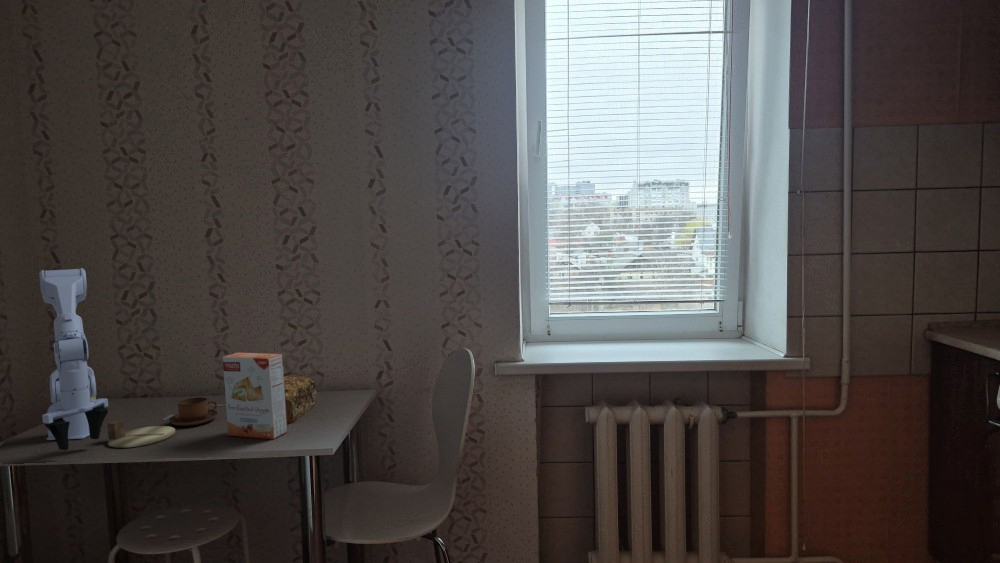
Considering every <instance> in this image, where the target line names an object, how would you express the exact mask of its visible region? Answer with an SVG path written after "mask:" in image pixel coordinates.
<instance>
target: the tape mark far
mask: <svg viewBox="0 0 1000 563" xmlns="http://www.w3.org/2000/svg"><path fill="white" fill-rule="evenodd" d="M214 406H215V404H211V407H214ZM217 407H226V404H217Z"/></svg>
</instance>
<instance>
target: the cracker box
mask: <svg viewBox="0 0 1000 563" xmlns="http://www.w3.org/2000/svg"><path fill="white" fill-rule="evenodd" d="M283 360H284V359H283V354H282V353H261V352H258V353H257V352H235V353H232V354H231V353H230V354H226V355H224V356H222V366H223V381H224V394H225V405H226V406H225V408H226V421H227V433H228V434H227V435H228V436H229V437H230V436H231V437H243V438H252V439H253V438H254V439H265V440H275V439H277V438H280V436H282V435H284V434H287V433H288V423H287V419H286V404H285V389H284V377H285V376H284V362H283Z"/></svg>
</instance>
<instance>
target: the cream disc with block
mask: <svg viewBox="0 0 1000 563" xmlns="http://www.w3.org/2000/svg"><path fill="white" fill-rule="evenodd" d="M124 424H125V423H124V420H119V419H118V420H113V421H110V422H107V424H106V425H107V436H108V440H107V445H108V446H109V447H112V448H117V449H119V448H121V449H123V448H124V449H125V448H134V447H135V448H136V447H141V446H147V445H151V444H155V443H158V442H162V441H164V440H168V439H170V438H171V437H173V436H174V435H176V428H174V427H172V426H167V425H155V426H154V425H153V426H145V427H140V428H134V429H130V430H126V431H125V425H124Z"/></svg>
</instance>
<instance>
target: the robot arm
mask: <svg viewBox="0 0 1000 563" xmlns="http://www.w3.org/2000/svg"><path fill="white" fill-rule="evenodd" d="M86 274H87V273H86V270H85V269H84V268H83V267H81V268H73V269H55V270H53V269H52V270H44V269H42V270H40V271H39V274H38V275H39V283H40V293H41V297H42V299H43V303H45V304H50V305H52V307H53V308H54V310H55V313H56V317H55V319H54V320H53V330H54V341H55V342H54V343H53V351H54V352H53V353H54V361H55V363H56V367H57V368H56V369H55V370H53V372H51V373H50V375H49V391H50V401H51V403H52V404H50V406H49V407H48V409H47V412H46V413H45V414H42V416H41V417H42V423H43V424H44V426H45V427H46V428H47V434H48V437H46V441H55V442H56V444H57V447H58V449H59V450H60V451H62V450H63V451H67V450H69V440H78V439H79V440H80V439H84V438H86V437H89V438H90V439H91V440H99V439H100V436H101V430H102V426H103V423H104V420H105V418H106V416H107V414H108V412H109V410H108V408H107V407H109V399H108V398H103V397H102V398H96V400H92V398H94V397H95V396H97V383H96V376H95V372H94V369H92V367H90V366H89V365H88V366H89V367H88V366H87V364H88V360H89V345H88V344H89V343H88V340H87V337H86V334H85V333H84V325H83V319H82V317H81V316H79V315H78V314H77V313H76V312H77V307H78V304H79V303H81V302H83V301H84V300H86V296H87V290H88V286H87V285H88V284H87V282H88V281H87V275H86ZM84 354H85V358H86V360H84ZM91 397H92V398H91Z"/></svg>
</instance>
